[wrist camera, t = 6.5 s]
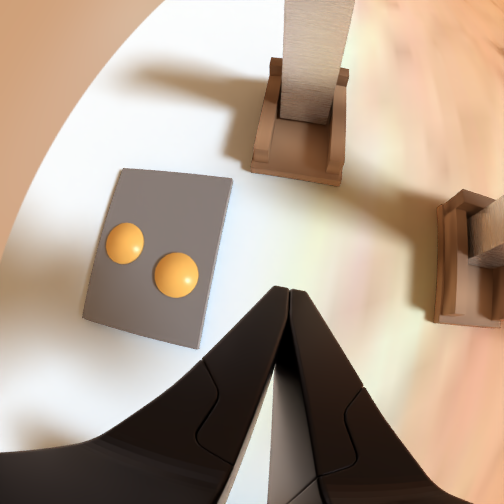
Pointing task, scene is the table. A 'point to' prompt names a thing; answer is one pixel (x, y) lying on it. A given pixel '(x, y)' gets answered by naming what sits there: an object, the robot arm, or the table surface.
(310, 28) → the lever
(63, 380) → the table surface
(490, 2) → the table surface
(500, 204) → the lever
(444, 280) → the track
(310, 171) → the track
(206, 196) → the pattern card
